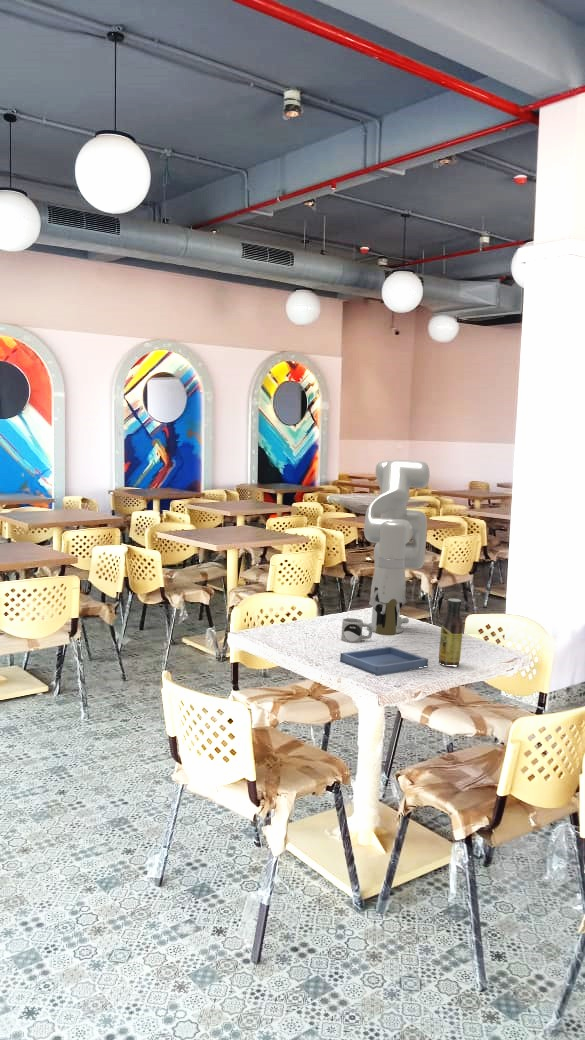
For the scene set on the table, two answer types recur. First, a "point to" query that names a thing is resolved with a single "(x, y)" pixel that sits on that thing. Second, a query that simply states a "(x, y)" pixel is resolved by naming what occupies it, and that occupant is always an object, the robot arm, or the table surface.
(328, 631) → the table surface
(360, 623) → the mug
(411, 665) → the tray
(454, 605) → the sauce bottle
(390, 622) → the cork
